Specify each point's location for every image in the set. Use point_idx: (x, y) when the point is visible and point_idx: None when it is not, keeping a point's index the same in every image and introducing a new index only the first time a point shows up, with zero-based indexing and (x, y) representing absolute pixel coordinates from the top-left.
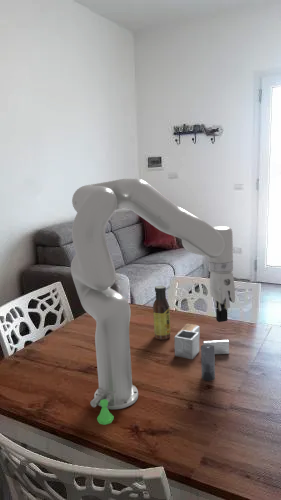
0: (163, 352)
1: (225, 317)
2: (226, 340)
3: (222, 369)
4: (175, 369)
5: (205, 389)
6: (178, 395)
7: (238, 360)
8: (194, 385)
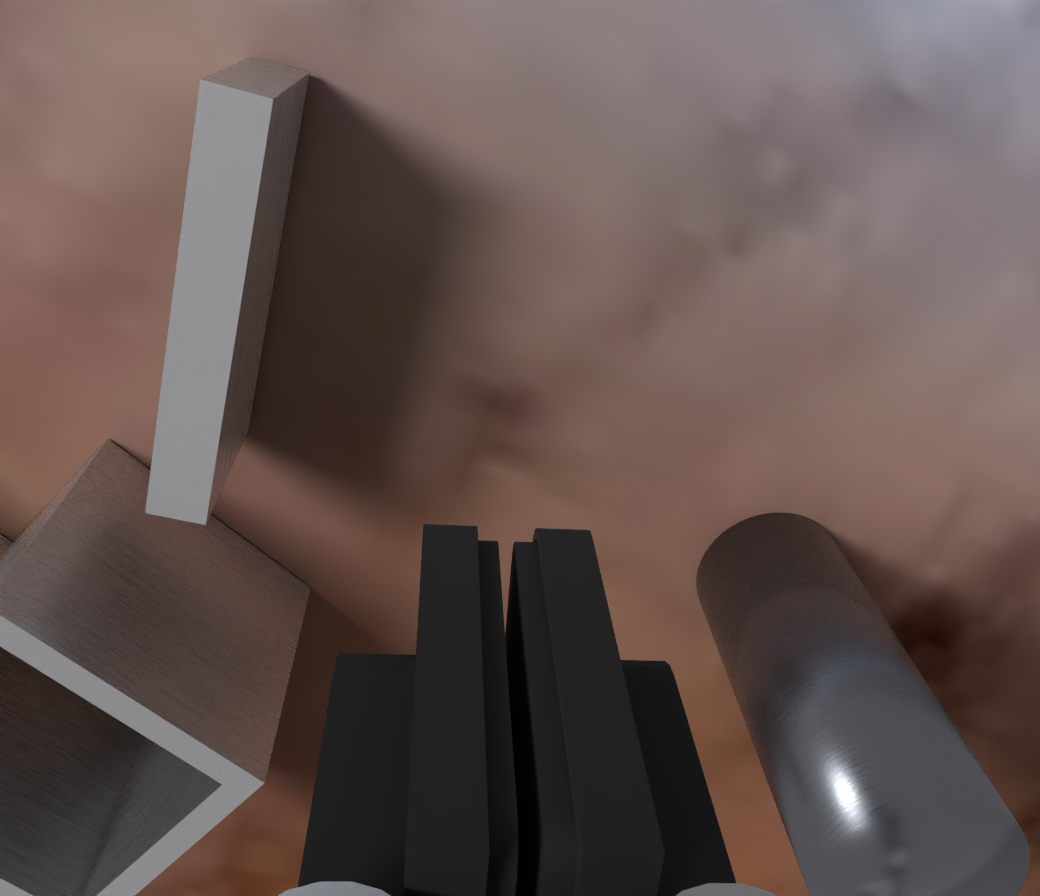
0: None
1: (676, 708)
2: (222, 128)
3: (684, 365)
4: None
5: (949, 673)
6: None
7: (551, 32)
8: None
